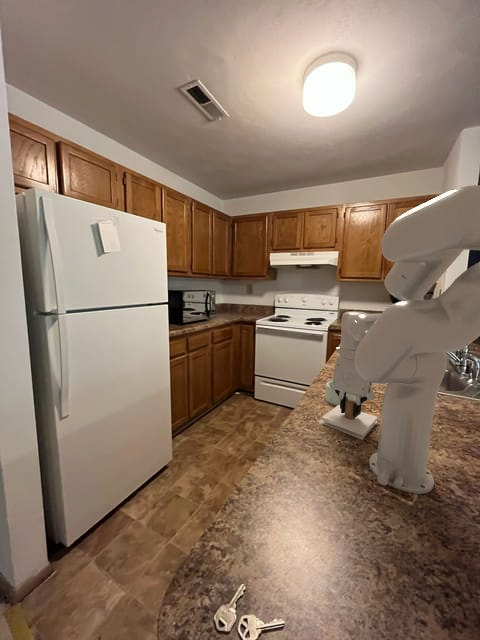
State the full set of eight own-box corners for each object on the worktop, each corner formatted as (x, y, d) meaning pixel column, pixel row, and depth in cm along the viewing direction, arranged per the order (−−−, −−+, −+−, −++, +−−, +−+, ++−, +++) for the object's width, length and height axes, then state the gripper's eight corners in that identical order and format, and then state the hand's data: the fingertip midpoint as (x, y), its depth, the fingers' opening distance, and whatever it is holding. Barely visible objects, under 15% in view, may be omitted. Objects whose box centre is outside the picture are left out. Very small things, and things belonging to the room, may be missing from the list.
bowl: (348, 411, 90) (349, 394, 89) (320, 401, 96) (321, 385, 95) (359, 401, 97) (360, 385, 96) (332, 393, 104) (333, 378, 103)
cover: (363, 435, 72) (364, 414, 72) (321, 420, 80) (322, 401, 80) (377, 420, 81) (378, 401, 80) (338, 407, 89) (339, 390, 88)
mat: (362, 441, 73) (362, 439, 73) (317, 423, 82) (318, 421, 81) (377, 423, 82) (377, 421, 82) (336, 409, 91) (336, 407, 91)
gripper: (321, 351, 81) (318, 409, 83) (380, 362, 70) (375, 428, 72) (332, 347, 86) (329, 401, 89) (388, 356, 75) (383, 418, 78)
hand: (350, 413), depth 80 cm, fingers closed on cover, 3 cm apart
